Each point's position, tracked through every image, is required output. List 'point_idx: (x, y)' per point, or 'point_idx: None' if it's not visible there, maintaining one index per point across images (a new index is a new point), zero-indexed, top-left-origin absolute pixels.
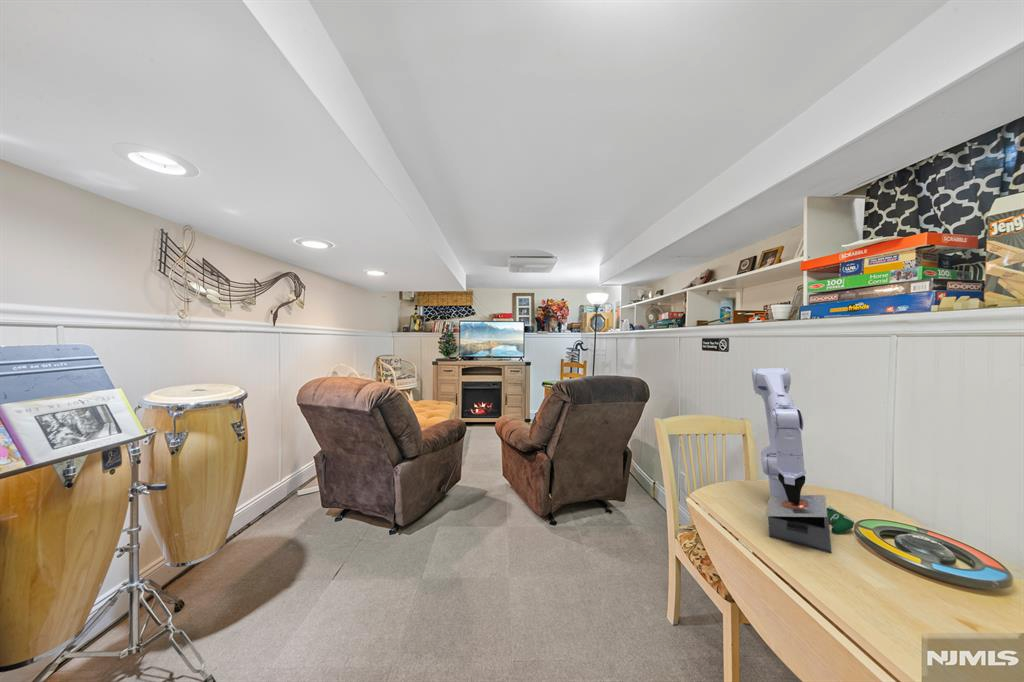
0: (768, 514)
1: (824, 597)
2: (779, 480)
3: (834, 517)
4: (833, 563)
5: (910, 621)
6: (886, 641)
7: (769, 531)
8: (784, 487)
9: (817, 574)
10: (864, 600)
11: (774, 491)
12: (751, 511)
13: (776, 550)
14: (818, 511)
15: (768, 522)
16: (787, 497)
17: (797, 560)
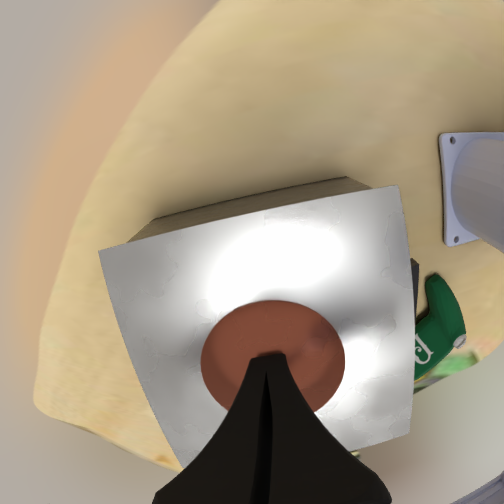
0: (106, 264)
1: (41, 358)
2: (158, 491)
3: (420, 349)
4: None
5: (103, 427)
6: (44, 402)
7: (144, 227)
8: (206, 445)
9: (85, 349)
10: (90, 398)
11: (499, 171)
12: (346, 82)
13: (92, 263)
14: (196, 453)
15: (128, 241)
16: (244, 378)
17: (95, 313)
